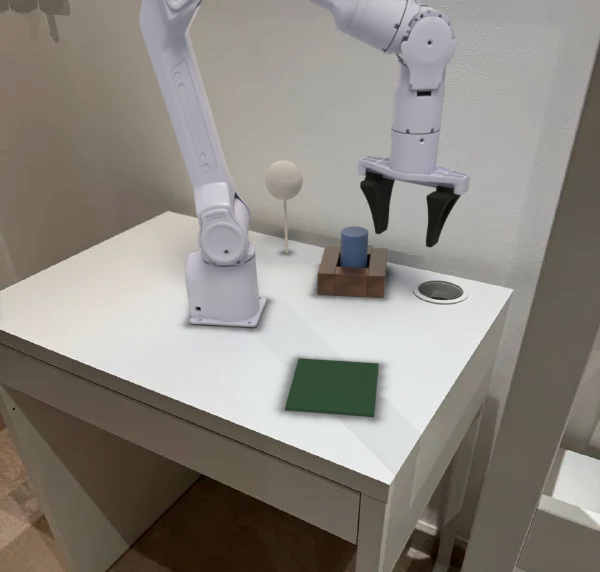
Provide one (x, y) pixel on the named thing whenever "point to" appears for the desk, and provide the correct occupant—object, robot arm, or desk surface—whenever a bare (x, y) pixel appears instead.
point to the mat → (334, 387)
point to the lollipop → (284, 185)
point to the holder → (352, 274)
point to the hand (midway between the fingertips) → (405, 237)
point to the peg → (354, 247)
